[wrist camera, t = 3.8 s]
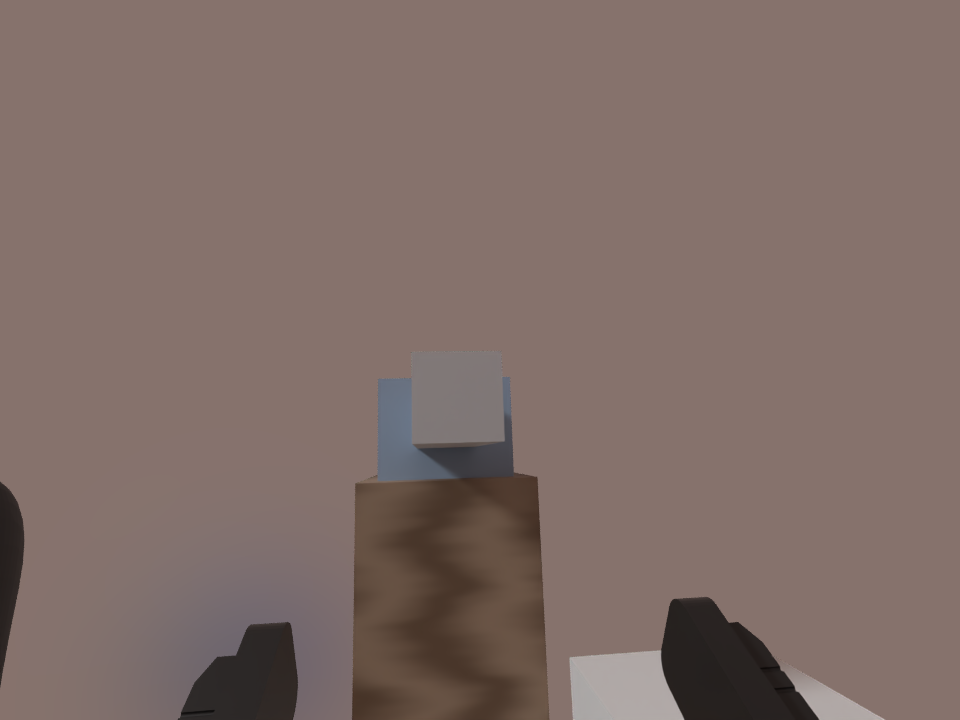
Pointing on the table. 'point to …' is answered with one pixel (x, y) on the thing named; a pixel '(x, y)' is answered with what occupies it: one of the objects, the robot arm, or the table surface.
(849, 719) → the grey pedestal
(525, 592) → the walnut stand
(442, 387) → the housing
